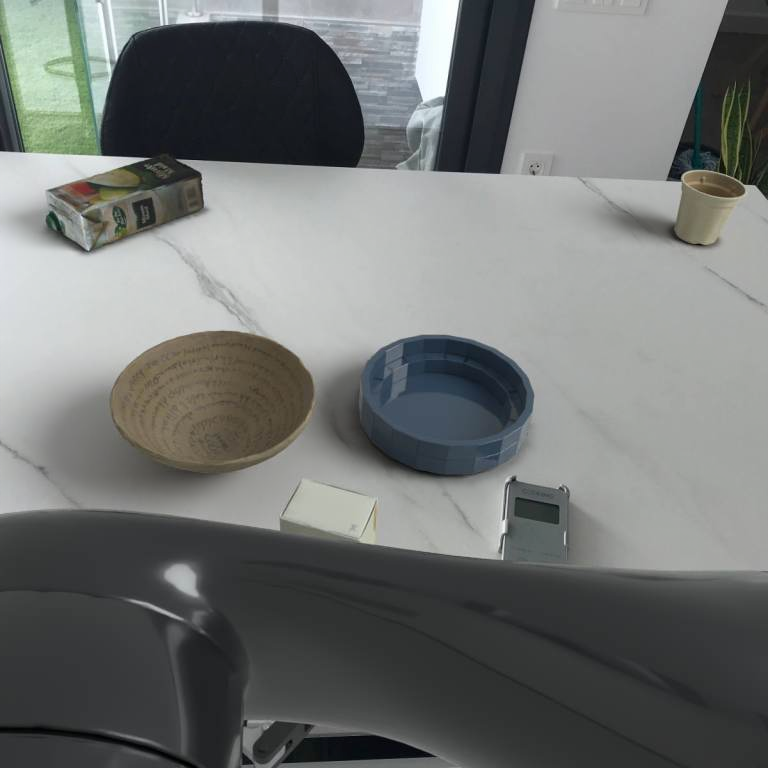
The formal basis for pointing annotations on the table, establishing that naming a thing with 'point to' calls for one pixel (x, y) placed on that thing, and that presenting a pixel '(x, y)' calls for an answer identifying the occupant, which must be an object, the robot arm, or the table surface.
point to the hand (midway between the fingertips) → (291, 591)
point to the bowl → (213, 401)
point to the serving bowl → (445, 404)
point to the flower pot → (706, 205)
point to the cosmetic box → (330, 513)
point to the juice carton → (124, 201)
